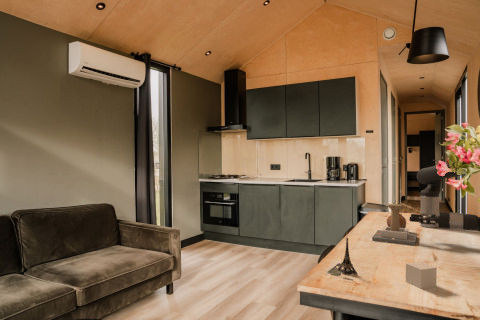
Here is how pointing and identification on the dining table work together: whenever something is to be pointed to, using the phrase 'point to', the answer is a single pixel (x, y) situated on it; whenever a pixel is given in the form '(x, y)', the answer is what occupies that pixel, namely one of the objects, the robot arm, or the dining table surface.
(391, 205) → the handle
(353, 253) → the dining table surface
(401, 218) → the onion
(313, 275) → the dining table surface
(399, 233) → the square socket base
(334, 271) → the eiffel tower figurine
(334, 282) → the dining table surface
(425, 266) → the beige cube
